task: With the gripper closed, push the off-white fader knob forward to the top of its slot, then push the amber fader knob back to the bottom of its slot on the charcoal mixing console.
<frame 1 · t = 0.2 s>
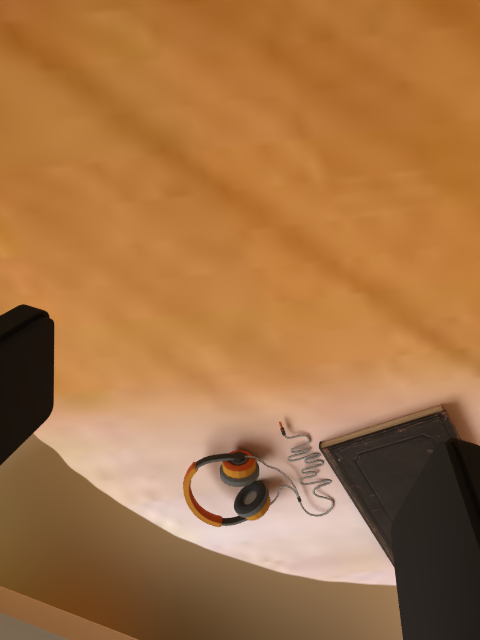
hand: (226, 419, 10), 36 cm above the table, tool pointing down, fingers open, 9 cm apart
hardcover book: (414, 485, 55), on the table
headphones: (258, 469, 60), on the table
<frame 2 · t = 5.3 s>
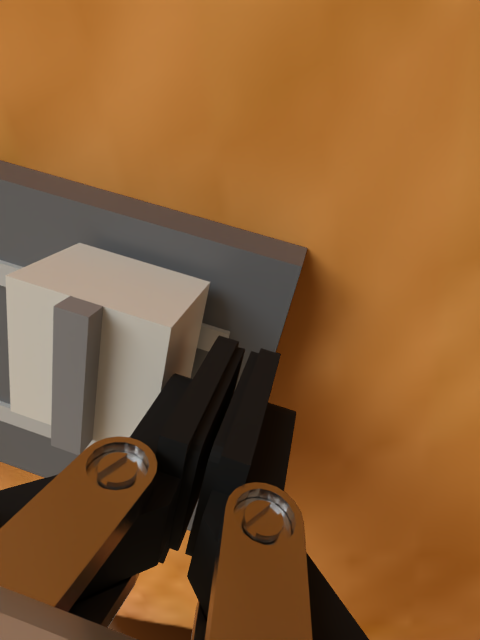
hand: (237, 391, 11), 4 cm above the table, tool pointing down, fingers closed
mixer console: (25, 319, 17), on the table
white fader: (107, 350, 11), point 4 cm above the table, slide at 1.3 cm, touching gripper
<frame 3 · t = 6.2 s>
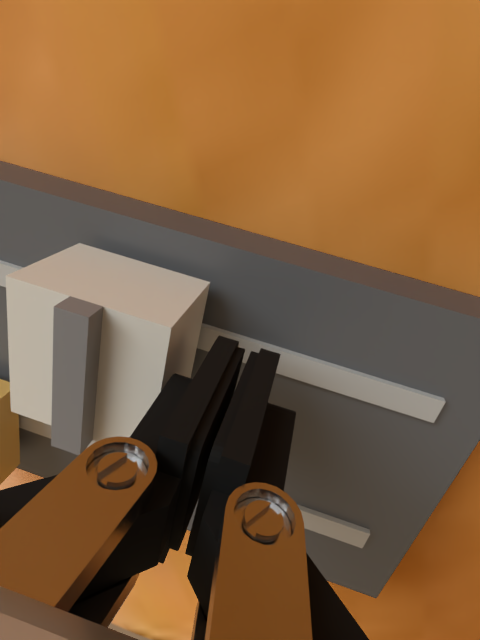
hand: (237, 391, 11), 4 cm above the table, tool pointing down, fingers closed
mixer console: (176, 368, 16), on the table
white fader: (107, 350, 11), point 4 cm above the table, slide at 7.9 cm, touching gripper
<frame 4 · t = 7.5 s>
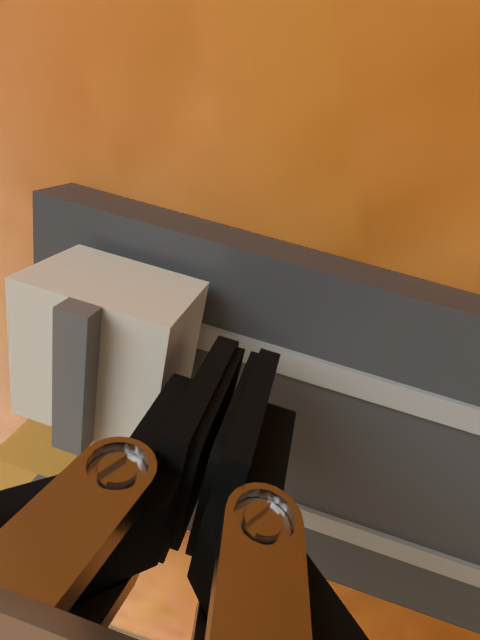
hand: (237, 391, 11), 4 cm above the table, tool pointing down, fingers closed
mixer console: (309, 411, 16), on the table
white fader: (106, 351, 11), point 4 cm above the table, slide at 13.2 cm, touching gripper
amber fader: (72, 493, 14), point 4 cm above the table, slide at 14.0 cm
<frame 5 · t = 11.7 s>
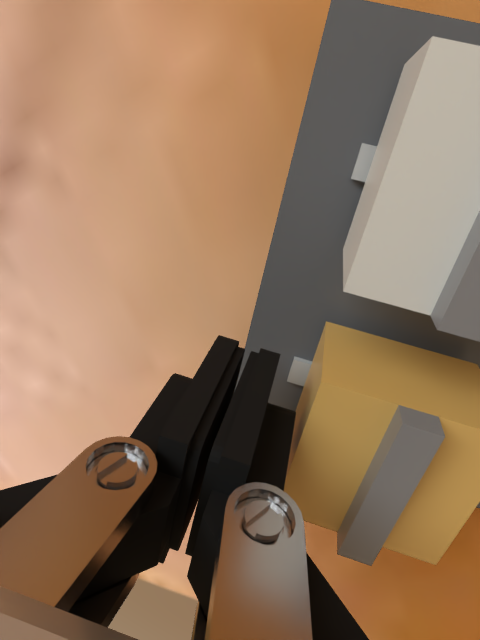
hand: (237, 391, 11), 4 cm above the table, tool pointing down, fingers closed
amber fader: (378, 443, 10), point 4 cm above the table, slide at 13.0 cm, touching gripper
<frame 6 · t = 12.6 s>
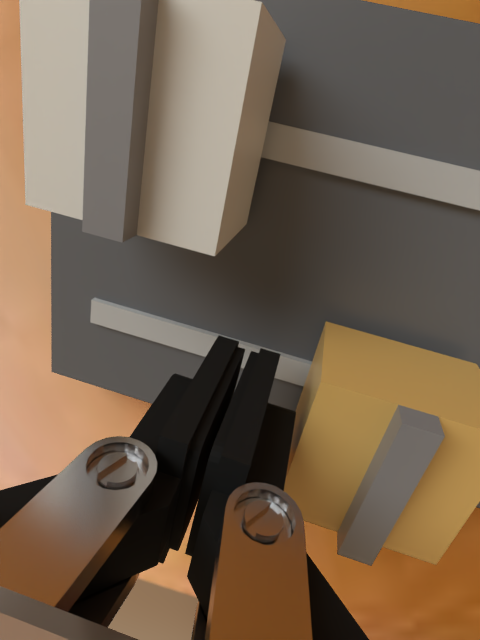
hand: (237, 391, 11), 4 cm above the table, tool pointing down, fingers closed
mixer console: (386, 273, 13), on the table
white fader: (153, 119, 8), point 4 cm above the table, slide at 13.2 cm
amber fader: (378, 443, 10), point 4 cm above the table, slide at 6.5 cm, touching gripper
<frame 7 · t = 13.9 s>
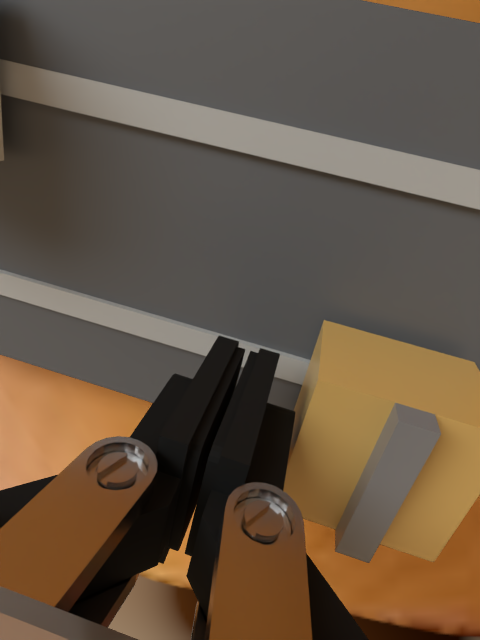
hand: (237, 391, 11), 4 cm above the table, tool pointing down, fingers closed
mixer console: (175, 216, 14), on the table
amber fader: (376, 441, 10), point 4 cm above the table, slide at -0.3 cm, touching gripper
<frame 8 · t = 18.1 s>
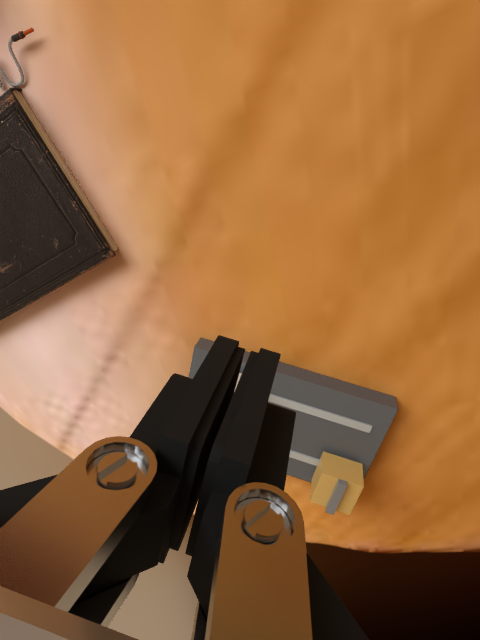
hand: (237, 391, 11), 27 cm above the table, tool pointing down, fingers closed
mixer console: (280, 412, 44), on the table
white fader: (219, 396, 40), point 4 cm above the table, slide at 13.2 cm
hardcover book: (0, 228, 43), on the table
amber fader: (336, 484, 41), point 4 cm above the table, slide at -0.1 cm
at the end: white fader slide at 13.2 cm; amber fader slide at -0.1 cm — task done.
